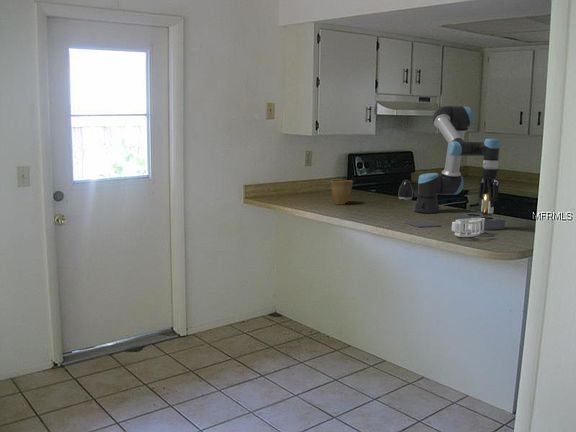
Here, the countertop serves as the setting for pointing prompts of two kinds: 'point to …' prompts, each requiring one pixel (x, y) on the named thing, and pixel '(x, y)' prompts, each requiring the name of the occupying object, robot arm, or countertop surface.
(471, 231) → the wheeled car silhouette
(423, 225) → the mat
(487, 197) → the bushing
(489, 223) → the block
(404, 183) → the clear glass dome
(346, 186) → the plant pot
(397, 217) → the countertop surface
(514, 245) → the countertop surface
